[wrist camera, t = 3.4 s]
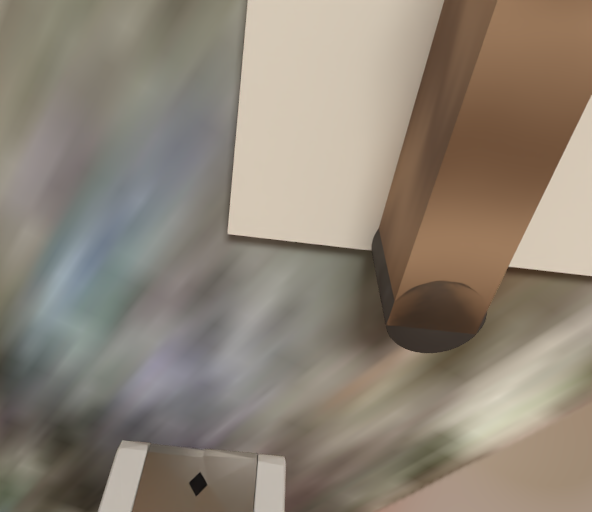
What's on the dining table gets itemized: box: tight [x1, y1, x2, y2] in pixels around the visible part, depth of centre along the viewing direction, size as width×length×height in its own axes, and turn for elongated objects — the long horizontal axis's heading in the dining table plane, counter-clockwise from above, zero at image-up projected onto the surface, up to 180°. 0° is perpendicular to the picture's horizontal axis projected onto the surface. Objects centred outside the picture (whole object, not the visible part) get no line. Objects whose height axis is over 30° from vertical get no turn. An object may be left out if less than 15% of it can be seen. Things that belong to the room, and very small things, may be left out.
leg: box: [372, 0, 592, 353], centre depth 16 cm, size 14×3×4 cm, turn 172°
